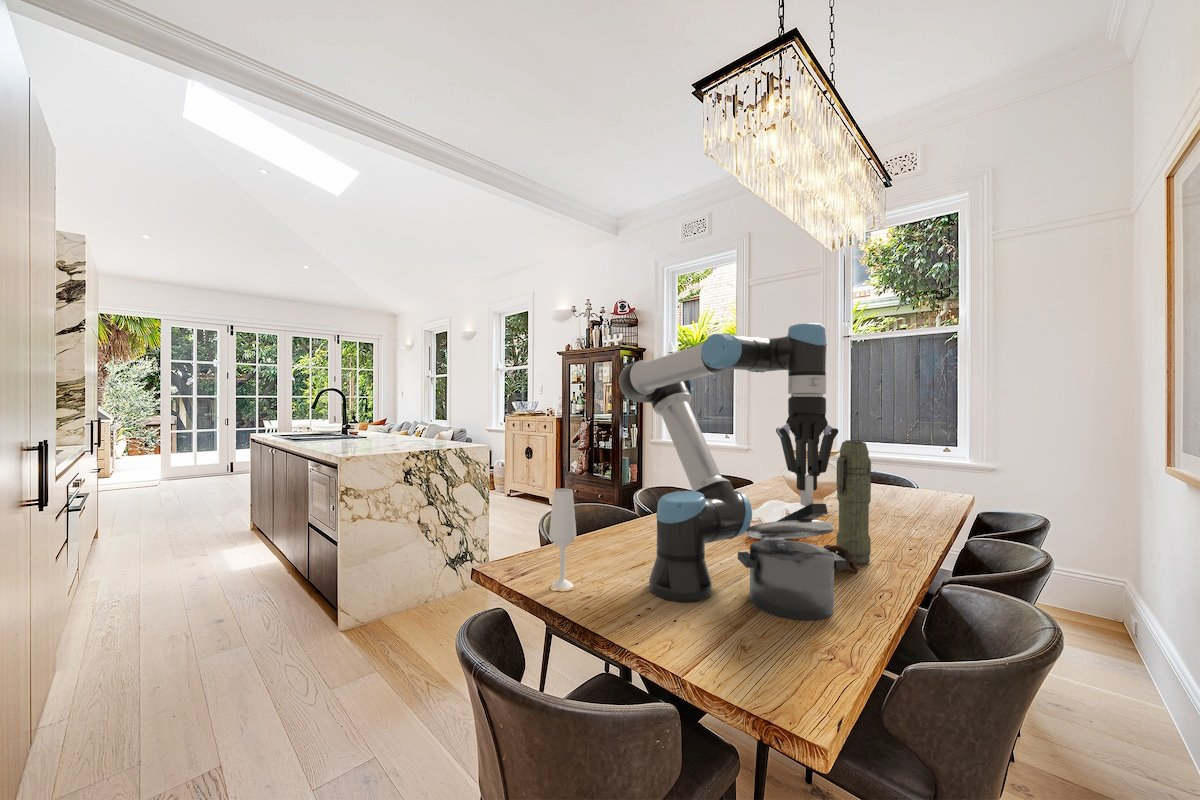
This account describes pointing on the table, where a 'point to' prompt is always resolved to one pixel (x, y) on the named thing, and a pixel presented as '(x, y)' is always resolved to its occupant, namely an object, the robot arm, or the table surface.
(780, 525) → the lid
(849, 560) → the pottery mug
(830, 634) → the table surface
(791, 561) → the pot
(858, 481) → the thermos
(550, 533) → the champagne flute
